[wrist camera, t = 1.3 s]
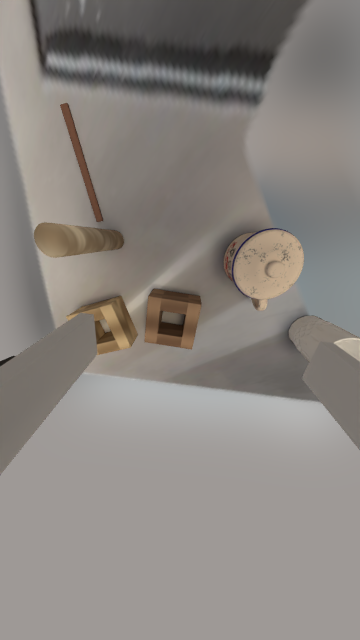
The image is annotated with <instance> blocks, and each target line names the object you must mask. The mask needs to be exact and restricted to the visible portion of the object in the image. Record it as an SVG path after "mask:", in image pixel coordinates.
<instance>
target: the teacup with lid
mask: <svg viewBox="0 0 360 640" xmlns="http://www.w3.org/2000/svg"><path fill="white" fill-rule="evenodd" d="M303 262H304V253H303V249H302V246H301V244H300V242H299V241H298V240H297V238H296V237H294V235H293V234H291V233H290V232H288V231H286V230H282V229H277V228H271V229H265V230H262V231H259V232H253V233H247V234H243V235H241V236H239V237H238V238H236V239H235V240H234V241H233V242H232V243H231V244H230V245H229V247H228V248H227V250H226V252H225V256H224V269H225V272H226V274H227V276H228V277H229V278H230V279H231V280H232V281H233V282H234V283H235V285H236V287H237V288H238V290H239V291H240V292H241V293H243V294H244V295H246V296H248V297H250V298H251V300H252V303H253V305H254V307H255V309H256V310H258V311H262V310H265V308H266V306H267V299H270V298H273V297H276V296H279V295H281V294H282V293H284V292H285V291H287V290H288V289H289V288H290V287H291V286H292V285H293V284H294V283H295V282H296V280H297V279H298V277H299V275H300V273H301V271H302V268H303Z"/></svg>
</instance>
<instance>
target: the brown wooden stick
mask: <svg viewBox="0 0 360 640" xmlns="http://www.w3.org/2000/svg"><path fill="white" fill-rule="evenodd" d="M60 106H61V109H62V113H63V116H64V119H65V122H66V125H67V128H68V132H69V135H70V138H71V141H72V144H73V148H74V151H75V154H76V157H77V160H78V163H79V167H80V170H81V173H82V176H83V179H84V183H85V186H86V189H87V192H88V195H89V198H90V202H91V205H92V208H93V211H94V214H95V218H96V221H97V222H100V221H103V218H102V215H101V212H100V208H99V205H98V202H97V199H96V195H95V192H94V189H93V185H92V182H91V179H90V175H89V172H88V169H87V165H86V162H85V159H84V155H83V152H82V149H81V145H80V142H79V139H78V135H77V132H76V129H75V125H74V122H73V119H72V115H71V112H70V109H69V105H68V104H67V103H65V104H61V105H60Z"/></svg>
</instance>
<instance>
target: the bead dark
mask: <svg viewBox="0 0 360 640" xmlns="http://www.w3.org/2000/svg"><path fill="white" fill-rule="evenodd" d="M200 309H201V299H200V296H196V295H190V294H183V293H177V292H171V291H165V290H159V289H153V290H152V292H151V293H150V295H149V296H148V307H147V319H146V331H145V342H148V343H155V344H161V345H167V346H174V347H180V348H186V349H192V346H193V342H194V337H195V333H196V328H197V323H198V319H199V314H200ZM163 311H167V312H173V313H179V314H185V318H184V323H183V325H176V324H170V323H164V322H161V320H162V312H163Z"/></svg>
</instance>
